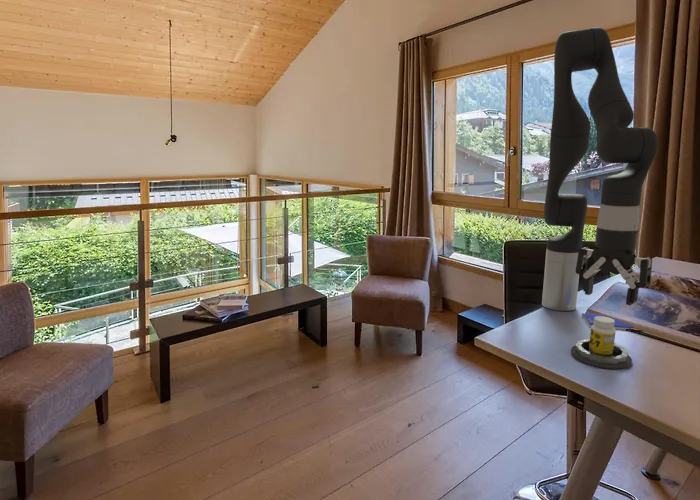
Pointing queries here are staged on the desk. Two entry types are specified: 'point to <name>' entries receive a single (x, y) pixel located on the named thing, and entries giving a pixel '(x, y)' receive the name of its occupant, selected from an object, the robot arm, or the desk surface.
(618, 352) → the grey flat ring
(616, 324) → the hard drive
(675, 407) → the desk surface
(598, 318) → the supplement bottle
